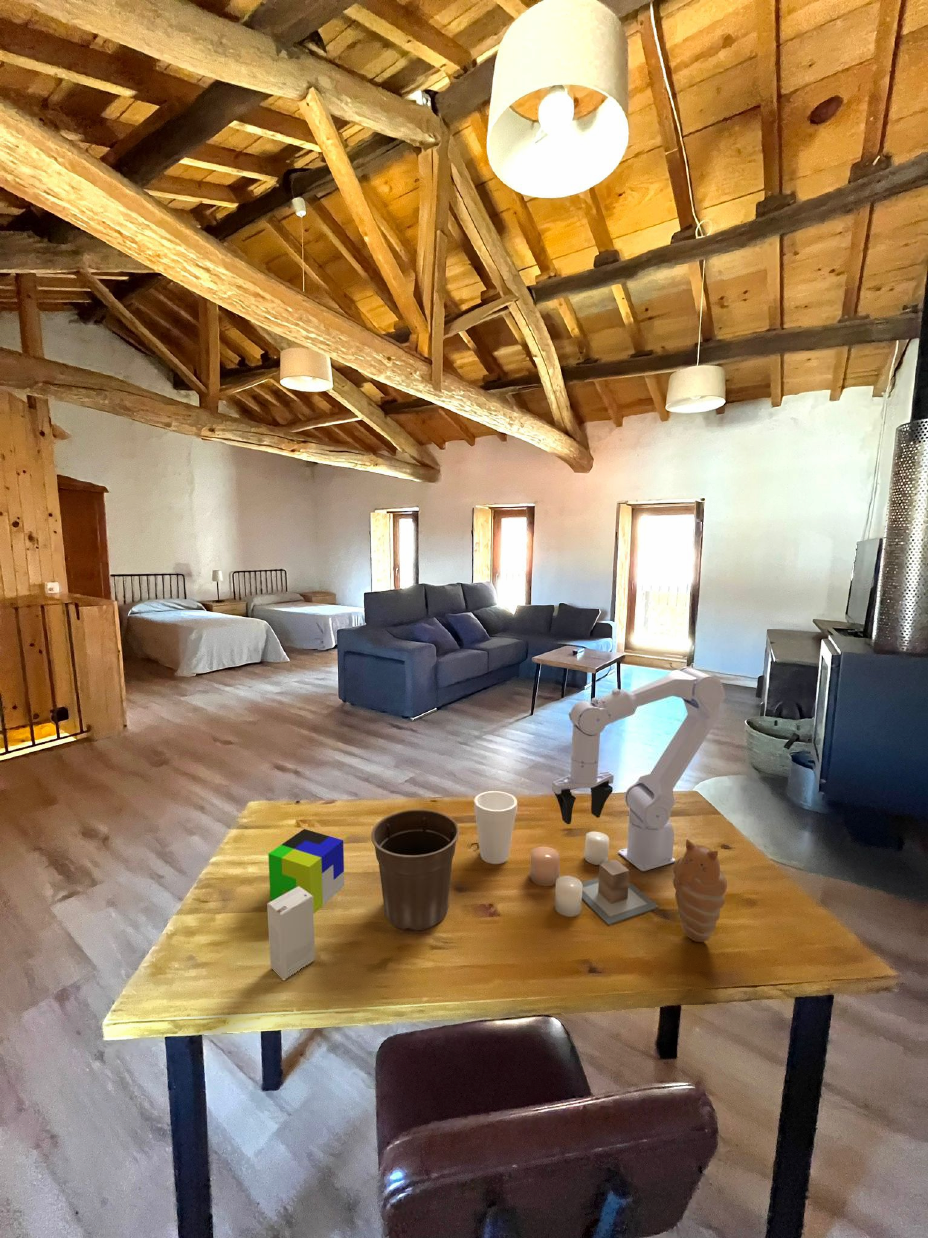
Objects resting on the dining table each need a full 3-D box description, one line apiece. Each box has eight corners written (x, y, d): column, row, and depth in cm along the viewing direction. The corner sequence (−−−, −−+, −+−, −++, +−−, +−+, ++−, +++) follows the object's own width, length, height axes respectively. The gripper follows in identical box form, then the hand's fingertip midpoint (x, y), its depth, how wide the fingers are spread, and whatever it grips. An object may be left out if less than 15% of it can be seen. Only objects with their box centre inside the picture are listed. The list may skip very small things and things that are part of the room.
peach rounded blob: (536, 864, 117) (537, 843, 116) (563, 873, 114) (564, 852, 113) (525, 879, 112) (525, 858, 111) (552, 890, 109) (553, 868, 108)
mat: (617, 873, 115) (617, 871, 114) (658, 908, 104) (658, 906, 104) (570, 887, 110) (570, 885, 110) (608, 925, 99) (608, 923, 99)
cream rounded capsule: (568, 895, 107) (569, 872, 106) (586, 910, 103) (588, 886, 102) (549, 905, 104) (550, 881, 103) (568, 920, 100) (569, 896, 99)
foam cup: (513, 871, 115) (514, 813, 113) (470, 865, 117) (471, 808, 115) (517, 846, 124) (518, 793, 122) (478, 841, 126) (478, 789, 124)
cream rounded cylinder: (608, 855, 121) (610, 834, 121) (606, 867, 116) (608, 845, 116) (585, 850, 123) (587, 829, 122) (583, 861, 118) (584, 840, 117)
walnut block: (614, 887, 109) (615, 859, 109) (627, 898, 106) (629, 870, 105) (598, 892, 108) (599, 864, 107) (611, 904, 104) (612, 875, 103)
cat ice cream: (662, 938, 96) (668, 843, 93) (680, 916, 101) (686, 827, 99) (713, 965, 90) (722, 865, 87) (730, 941, 95) (738, 846, 93)
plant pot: (412, 955, 91) (411, 867, 89) (355, 911, 102) (353, 831, 100) (475, 908, 103) (477, 829, 101) (418, 873, 114) (418, 801, 112)
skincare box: (301, 948, 93) (299, 883, 91) (316, 961, 90) (314, 894, 88) (268, 969, 88) (265, 901, 86) (283, 984, 85) (280, 914, 83)
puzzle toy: (344, 886, 109) (343, 840, 108) (311, 916, 100) (309, 867, 99) (305, 873, 114) (304, 828, 112) (270, 901, 105) (268, 853, 103)
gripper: (600, 747, 121) (596, 804, 123) (545, 756, 115) (542, 816, 117) (621, 759, 115) (617, 819, 117) (564, 769, 109) (560, 832, 111)
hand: (581, 818), depth 116 cm, fingers open, 7 cm apart
